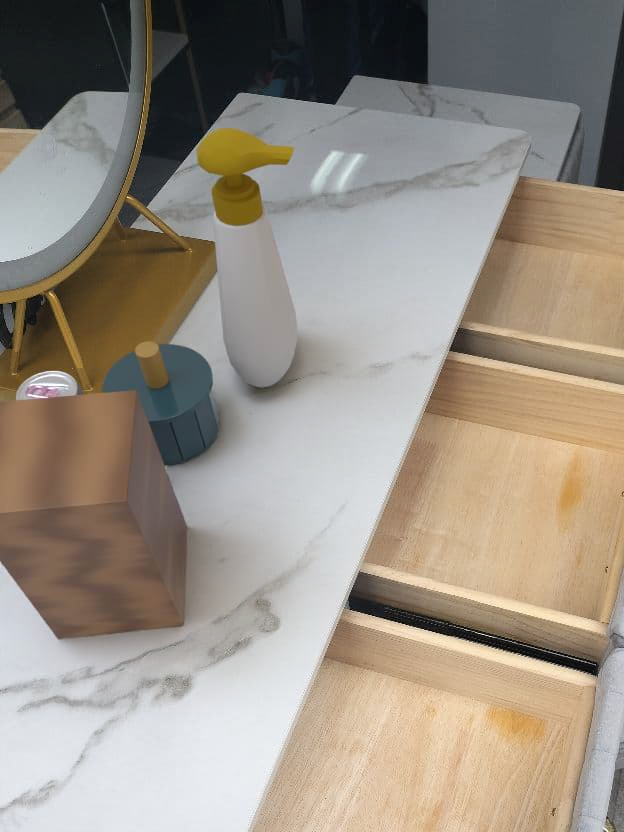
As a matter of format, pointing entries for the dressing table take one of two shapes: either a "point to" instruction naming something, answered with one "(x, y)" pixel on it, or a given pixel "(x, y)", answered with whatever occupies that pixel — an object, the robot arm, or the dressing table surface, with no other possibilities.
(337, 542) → the dressing table surface
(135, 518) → the stand
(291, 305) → the soap bottle
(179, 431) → the pot
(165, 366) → the lid
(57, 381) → the beverage can
